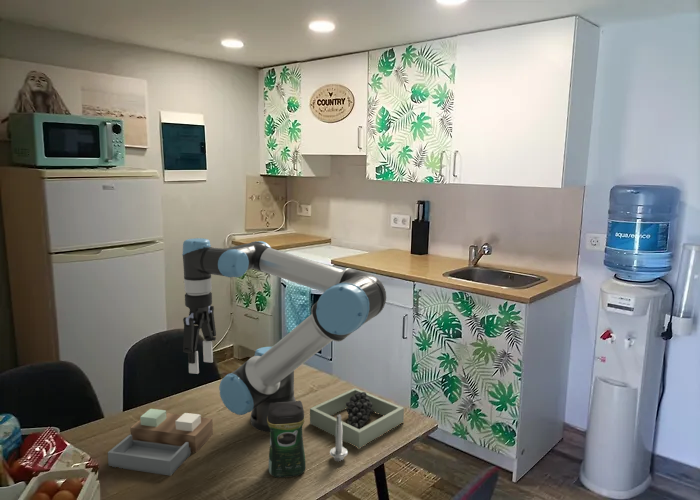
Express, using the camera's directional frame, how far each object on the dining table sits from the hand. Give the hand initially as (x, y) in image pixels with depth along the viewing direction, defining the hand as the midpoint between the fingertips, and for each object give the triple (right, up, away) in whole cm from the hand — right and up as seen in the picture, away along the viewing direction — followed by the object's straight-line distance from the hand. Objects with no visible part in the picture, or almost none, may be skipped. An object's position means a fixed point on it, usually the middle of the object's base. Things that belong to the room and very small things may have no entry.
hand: (201, 367), depth 151 cm
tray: (-10, -22, -14) cm, 28 cm away
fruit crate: (+46, -19, +7) cm, 50 cm away
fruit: (+46, -19, +7) cm, 50 cm away
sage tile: (-13, -15, -3) cm, 20 cm away
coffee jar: (+27, -23, -18) cm, 40 cm away
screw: (+41, -22, -12) cm, 48 cm away
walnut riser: (-7, -20, -3) cm, 22 cm away
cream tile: (-2, -15, -6) cm, 17 cm away
